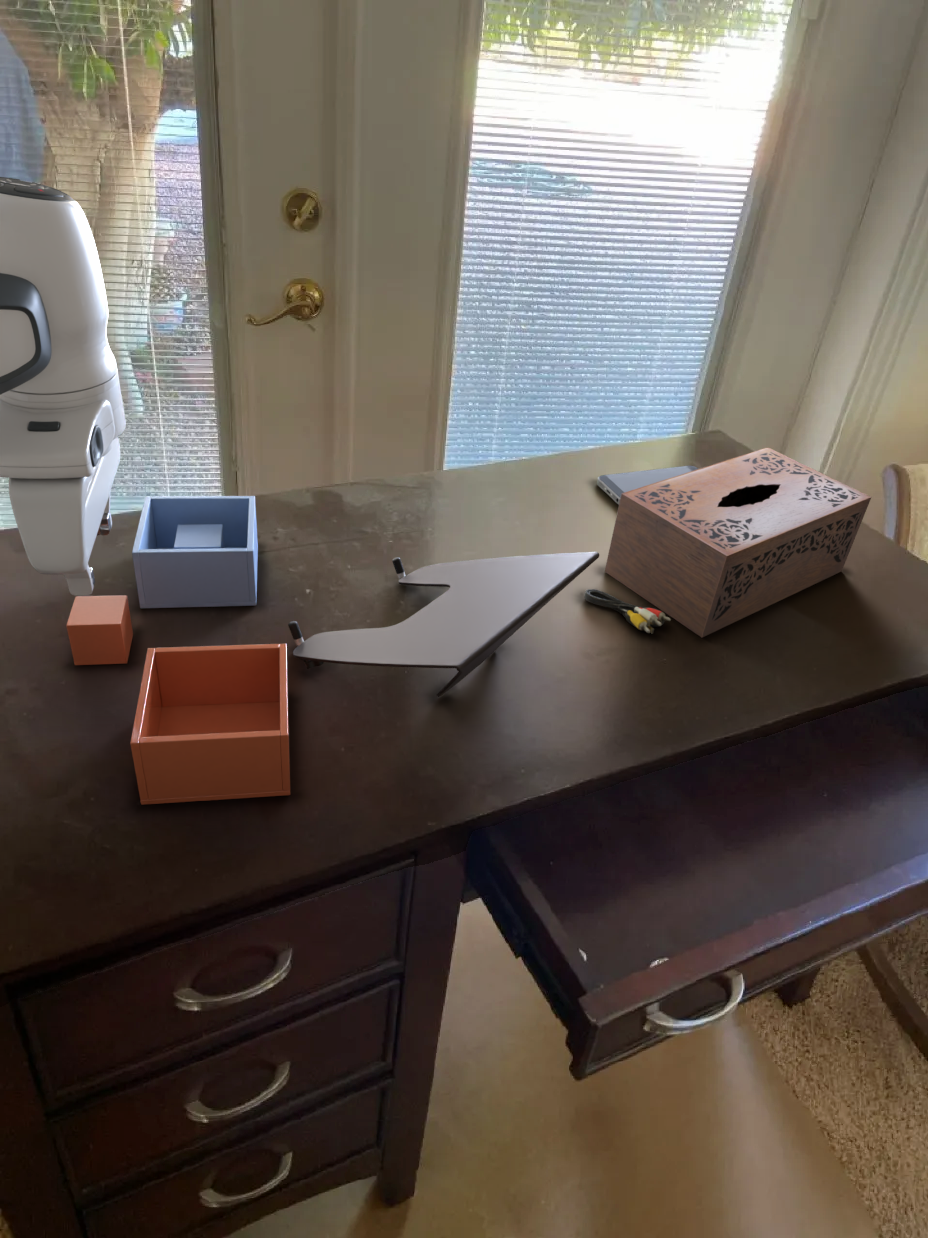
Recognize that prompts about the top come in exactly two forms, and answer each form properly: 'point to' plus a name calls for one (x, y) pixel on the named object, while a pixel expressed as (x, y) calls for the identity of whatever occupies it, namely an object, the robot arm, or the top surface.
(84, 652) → the terracotta block
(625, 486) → the phone
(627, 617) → the composite cable
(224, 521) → the slate bin
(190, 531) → the slate block
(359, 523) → the top surface
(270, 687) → the terracotta bin
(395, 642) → the laptop stand
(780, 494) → the tissue box cover
